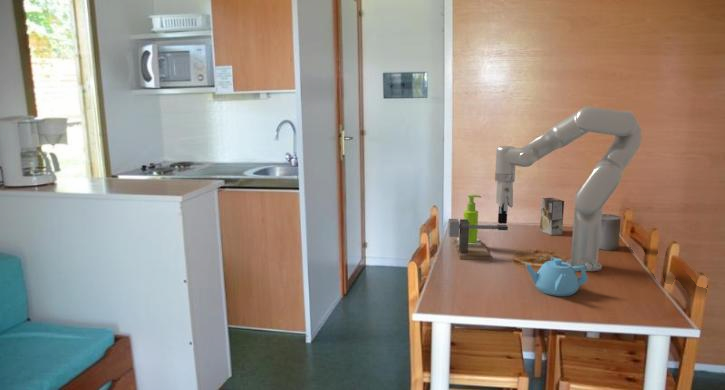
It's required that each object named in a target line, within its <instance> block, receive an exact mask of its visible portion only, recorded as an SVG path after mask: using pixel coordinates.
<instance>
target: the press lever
mask: <svg viewBox="0 0 725 390" xmlns="http://www.w3.org/2000/svg"><path fill="white" fill-rule="evenodd" d="M447 221H448V224H447V234H448V236H449V237H450V238H459V237H460V229H461V225H460V220H459V219H458V218H448V219H447ZM469 229H477V230H498V231H509V230H508V229H509V226H508V225H507V224H495V225H494V224H493V225H492V224H491V225H490V224H478V225H469Z"/></svg>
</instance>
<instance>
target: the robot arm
mask: <svg viewBox="0 0 725 390" xmlns="http://www.w3.org/2000/svg"><path fill="white" fill-rule="evenodd" d="M590 132H591V133H595V134H602V135H610V136H614V139H613V141H612V143H611V144H610V146H609V147H608V149H607V151H606V152H605V154H604V155H603V156H602V158H601V159H600V160H599V162H597V163H596V164H595V166H594V167H593V170H592V172H591V173H590V174H589V176H588V177H587V179H586V181H585V182H584V183H583V184H582V185H581V186H579V188H578V189H577V190H576V192H575V196H574V199H573V200H574V201H573V202H574V212H573V215H574V216H573V223H572V224H573V226H572V238H571V249H570V258H569V259H567V260H566V261H565V262H566V263H568V264H570V265H571V266H583V265H584V267H585V270H586V272H596V271H601V270H602V266H603V265H602V264H601V263H600V262H598V261H599V250H600V249H599V240H600V229H601V219H602V214H603V208H604V207H603V206H604V205H605V204H606V203H607V201H608V200H609V199H610V197H611V196H612V194H613V193H614V192H615V191H616V189H617V188H618V186H619V184H620V183H621V181H622V178H623V173H624V171H625V170H626V168H627V167H628V165H629V164H630V162H631V161H632V159H633V158H634V157H635V155H636V154H637V152H638V150H639V148H640V145H641V141H642V128H641V125H640V123H639V121H638V118H637V117H636V116H635V114H634V113H632V112H631V111H628V110H614V109H605V108H599V107H595V106H593V105H591V106H589V105H587V106H584V107H582V108H581V109H579V110H578V111H575V112H574V113H572V114H571V115H570V116H568V117H566V118H565V119H563V120H562V121H560V122H558V123H557V124H554V125H553V126H551V127H550V128H549V129H548V130H547V131H546V132H545V133H543V134H542V135H540V136H538V137H537V138H535V139H534V140H532V141H531V142H529V143H527V144H526V145H524V146H522V147H515V146H511V145H500V146H498V147H497V148H496V152H495V153H496V154H495V175H494V182H496V192H495V193H496V195H495V196H496V197H495V198H496V199H495V202H496V204H497V205H498V215H497V222H498V225H507V222H508V208H513V206H514V205H513V204H514V183H515V179H516V166H517V167H522V168H529V167H531V166H532V165H533V164H535V163H536V162H537V161H539V160H541V159H542V158H544V157H546V156H548V154H551V153H553V152H554V151H557V150H558V149H561V148H564V147H566V146H568V145H570V144H571V143H572V142H574V141H576V140H577V139H580V138H581V137H583V136H585V135H586V134H588V133H590Z"/></svg>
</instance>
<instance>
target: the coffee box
mask: <svg viewBox="0 0 725 390" xmlns="http://www.w3.org/2000/svg"><path fill="white" fill-rule="evenodd" d="M564 210H565V200H562V199H558V198H555V197H543V198H541V209H540V222H539V223H540V225H539V226H540V227H539V231H540V232H542V233H545V234H547V235H550V236H559V235H562V234H563V224H564V223H563V222H564V213H565V212H564Z"/></svg>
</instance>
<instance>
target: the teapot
mask: <svg viewBox="0 0 725 390" xmlns="http://www.w3.org/2000/svg"><path fill="white" fill-rule="evenodd" d="M525 266H526V268H527V271H528V273H529V275H530V277H531V280H532V281H533V283H534V285H535V286H536V288H537V289H538V290H539V292H541V293H543V294H546V295H549V296H556V297H570V296H572V295H574V294H575V293H576V292H577V291H579V288H580V287H581V286H582V285H584V284H585V283H587V282H588V281H589V278H588V274H587V271H586V270H585V267H584V265H583V266H571V265H570V264H568V263H566V261H563V259H562V258H556V257H553V256H552V257H551V260H547V261H545V262H544V263H543V264H542V265H541V266H540V268H539V269H538V271H537V272H535V270H534V268H533V267H532V265H531V263H529V264H526V263H525ZM578 271H579V272H580V274H581V276H580V277H579V278H578V276H577V273H576V272H578Z"/></svg>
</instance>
